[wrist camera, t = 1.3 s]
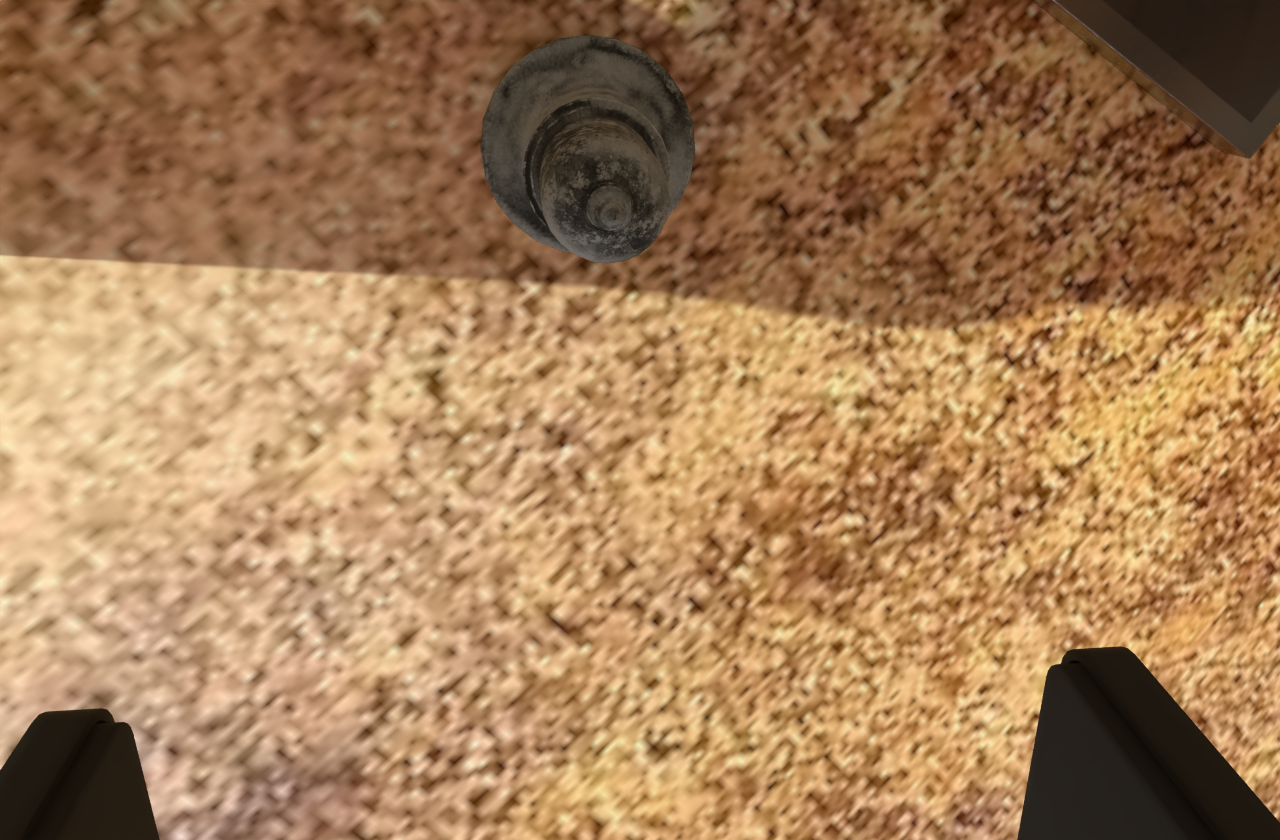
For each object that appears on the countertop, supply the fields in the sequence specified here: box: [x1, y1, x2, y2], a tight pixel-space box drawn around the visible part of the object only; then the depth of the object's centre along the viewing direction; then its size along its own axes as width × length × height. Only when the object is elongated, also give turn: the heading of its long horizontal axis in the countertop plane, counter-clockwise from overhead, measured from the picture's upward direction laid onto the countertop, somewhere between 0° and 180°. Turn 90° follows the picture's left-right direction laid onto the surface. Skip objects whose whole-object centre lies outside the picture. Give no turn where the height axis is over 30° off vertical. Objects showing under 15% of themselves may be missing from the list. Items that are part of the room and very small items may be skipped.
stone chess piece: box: [481, 35, 695, 263], centre depth 27 cm, size 6×6×12 cm
